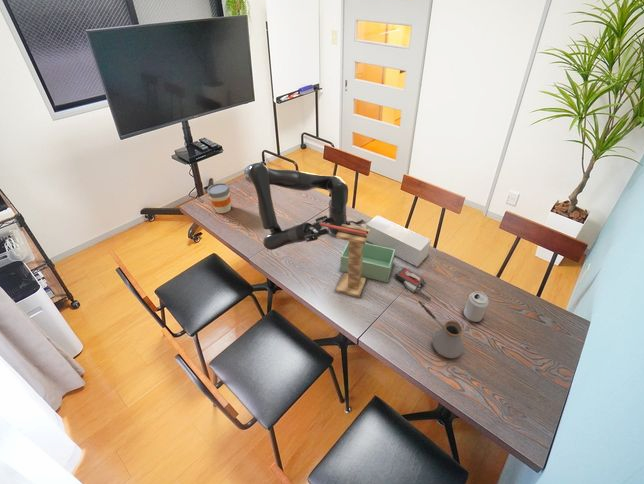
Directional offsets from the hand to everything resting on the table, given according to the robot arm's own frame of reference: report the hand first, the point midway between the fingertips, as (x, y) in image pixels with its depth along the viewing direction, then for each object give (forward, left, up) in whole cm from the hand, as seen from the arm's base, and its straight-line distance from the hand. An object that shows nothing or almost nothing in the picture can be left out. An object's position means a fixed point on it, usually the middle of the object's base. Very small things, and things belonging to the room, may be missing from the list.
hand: (330, 224), depth 135 cm
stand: (-2, +9, -34) cm, 35 cm away
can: (-17, +61, -34) cm, 71 cm away
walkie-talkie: (-19, +34, -34) cm, 51 cm away
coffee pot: (+3, +52, -34) cm, 62 cm away
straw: (-1, +5, -1) cm, 5 cm away
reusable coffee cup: (-11, -89, -34) cm, 96 cm away
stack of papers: (-38, +15, -34) cm, 53 cm away
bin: (-17, +10, -34) cm, 39 cm away
